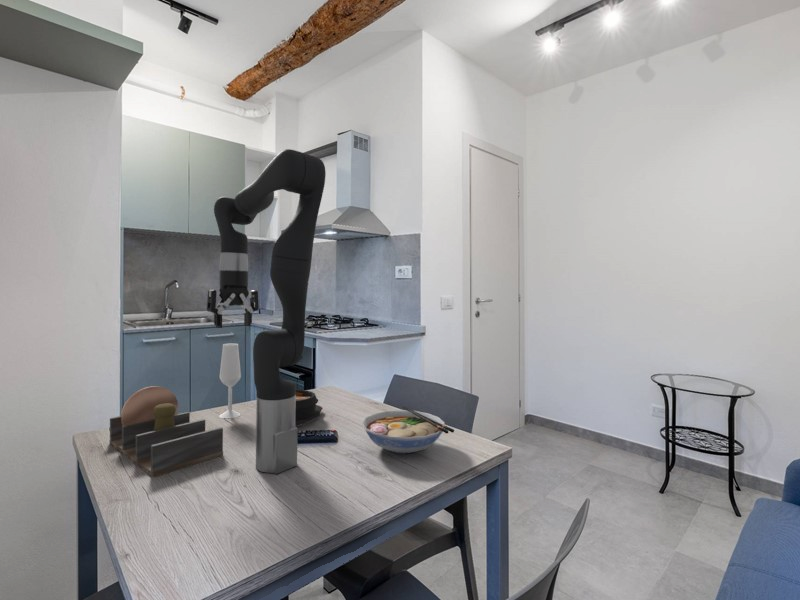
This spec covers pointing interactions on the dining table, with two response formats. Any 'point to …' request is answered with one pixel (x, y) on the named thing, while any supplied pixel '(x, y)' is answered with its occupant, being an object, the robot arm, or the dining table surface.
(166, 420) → the cork
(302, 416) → the casserole
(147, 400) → the rack
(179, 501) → the dining table surface
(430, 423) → the ramen bowl
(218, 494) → the dining table surface
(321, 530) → the dining table surface
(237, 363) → the champagne flute
